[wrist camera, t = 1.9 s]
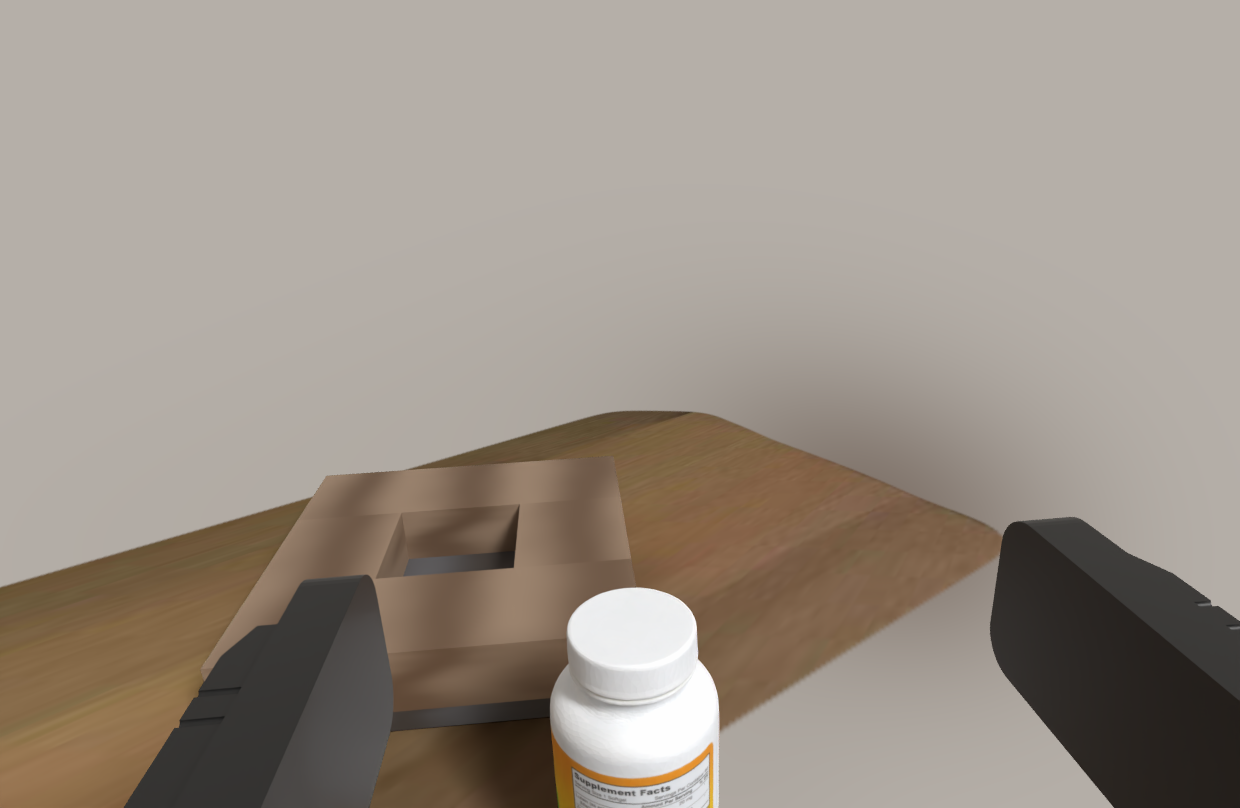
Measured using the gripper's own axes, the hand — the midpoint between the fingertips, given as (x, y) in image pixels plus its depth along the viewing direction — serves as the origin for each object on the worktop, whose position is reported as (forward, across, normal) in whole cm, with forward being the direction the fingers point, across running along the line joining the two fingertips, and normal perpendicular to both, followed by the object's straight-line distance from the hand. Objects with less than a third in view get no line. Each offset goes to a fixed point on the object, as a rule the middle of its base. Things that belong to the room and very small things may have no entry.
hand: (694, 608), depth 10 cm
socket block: (+27, +8, +18) cm, 34 cm away
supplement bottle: (+11, 0, +18) cm, 22 cm away
